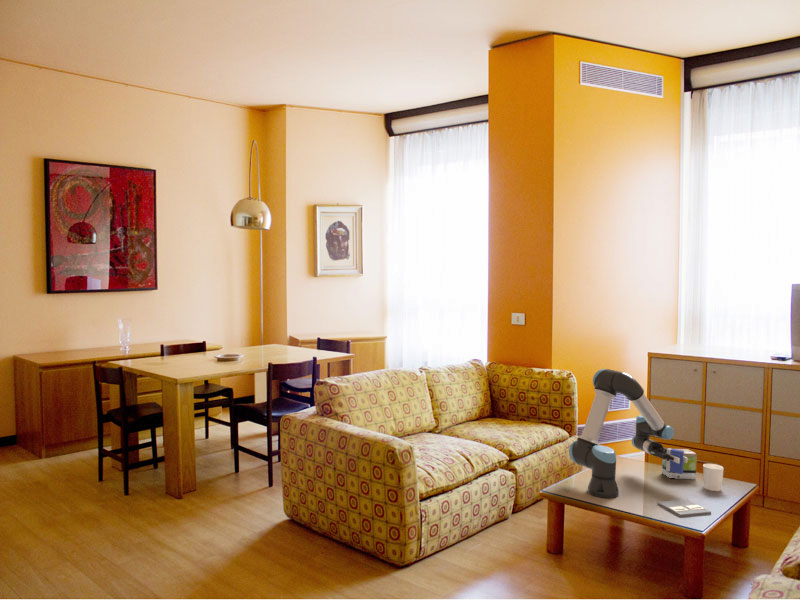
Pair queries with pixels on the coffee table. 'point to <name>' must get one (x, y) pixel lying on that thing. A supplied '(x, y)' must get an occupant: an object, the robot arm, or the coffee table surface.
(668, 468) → the walkman
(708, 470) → the candle holder
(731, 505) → the coffee table surface
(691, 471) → the tea box
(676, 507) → the label board
